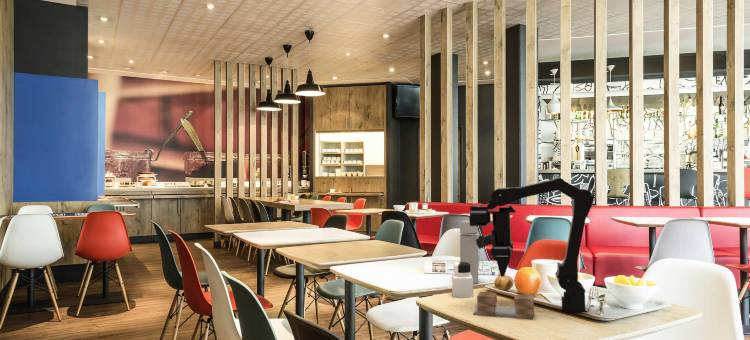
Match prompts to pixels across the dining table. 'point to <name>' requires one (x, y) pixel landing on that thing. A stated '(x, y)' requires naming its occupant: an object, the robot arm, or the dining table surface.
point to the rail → (502, 311)
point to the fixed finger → (524, 306)
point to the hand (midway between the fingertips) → (503, 273)
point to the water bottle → (469, 248)
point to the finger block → (486, 303)
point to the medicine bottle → (462, 280)
